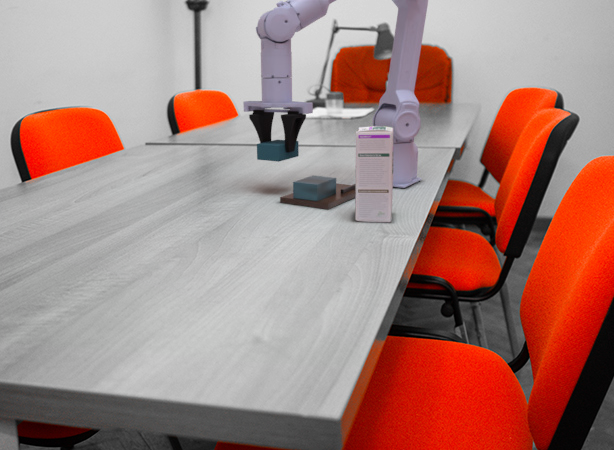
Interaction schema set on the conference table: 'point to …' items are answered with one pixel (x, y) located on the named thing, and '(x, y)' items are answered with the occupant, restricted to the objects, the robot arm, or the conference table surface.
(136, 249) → the conference table surface
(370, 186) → the syrup box
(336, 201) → the assembly board
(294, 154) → the loose pad
